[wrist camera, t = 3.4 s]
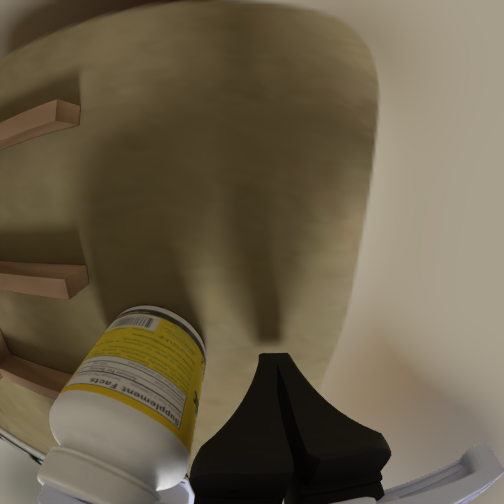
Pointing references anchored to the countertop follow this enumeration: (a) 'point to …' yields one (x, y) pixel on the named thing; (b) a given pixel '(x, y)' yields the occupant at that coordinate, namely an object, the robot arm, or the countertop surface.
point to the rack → (38, 274)
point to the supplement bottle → (128, 411)
